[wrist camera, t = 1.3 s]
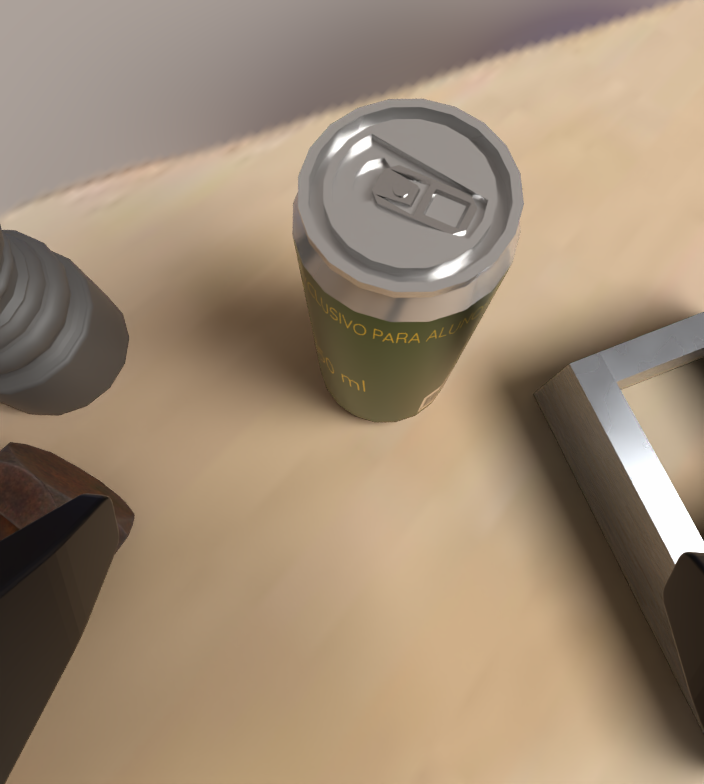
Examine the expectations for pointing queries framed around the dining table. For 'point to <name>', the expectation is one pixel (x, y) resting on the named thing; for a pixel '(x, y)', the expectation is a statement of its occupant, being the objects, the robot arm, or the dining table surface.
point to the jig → (628, 464)
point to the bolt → (46, 488)
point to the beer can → (402, 248)
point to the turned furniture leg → (54, 330)
